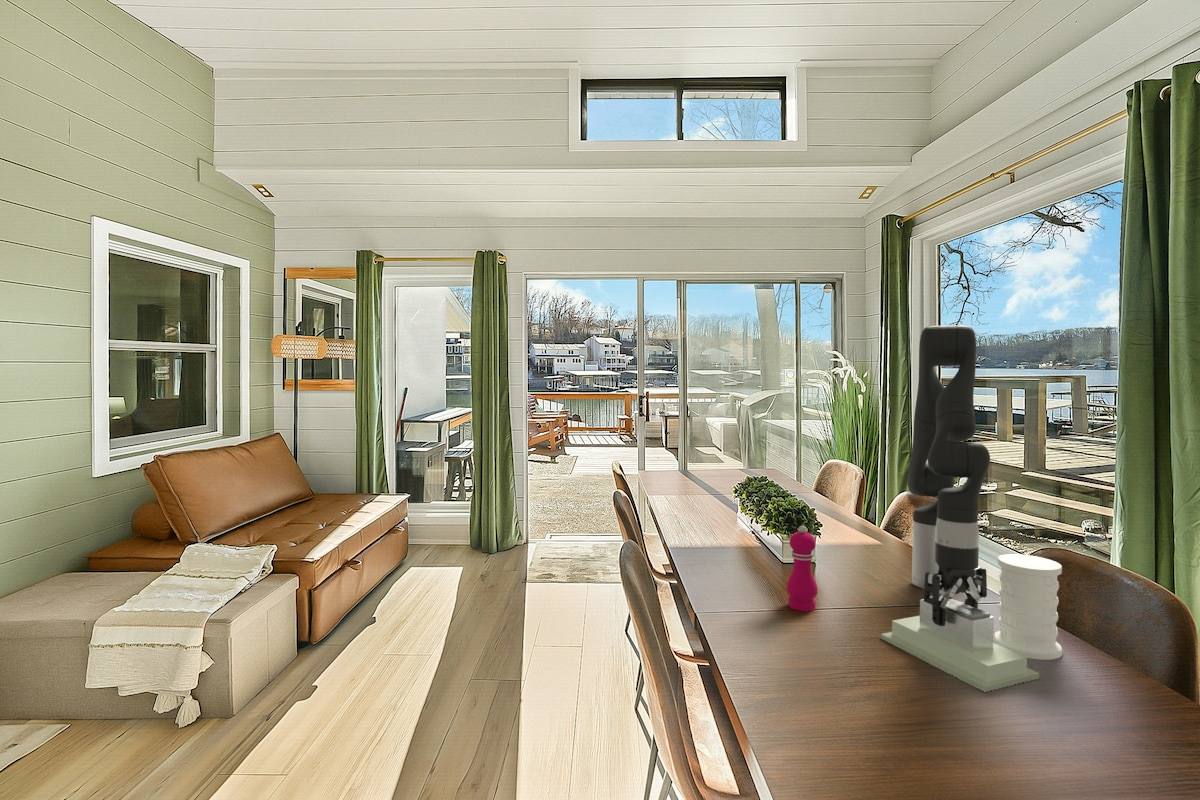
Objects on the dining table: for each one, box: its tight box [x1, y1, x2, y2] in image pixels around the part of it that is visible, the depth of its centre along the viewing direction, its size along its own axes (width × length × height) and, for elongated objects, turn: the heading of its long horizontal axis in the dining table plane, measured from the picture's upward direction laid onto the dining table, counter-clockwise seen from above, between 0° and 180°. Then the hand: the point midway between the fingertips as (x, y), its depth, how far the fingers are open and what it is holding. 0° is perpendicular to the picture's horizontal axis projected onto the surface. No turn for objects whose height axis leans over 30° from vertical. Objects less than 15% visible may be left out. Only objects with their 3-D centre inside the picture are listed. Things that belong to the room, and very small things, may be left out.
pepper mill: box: [786, 525, 818, 612], centre depth 150 cm, size 7×7×20 cm
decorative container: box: [993, 553, 1063, 661], centre depth 128 cm, size 12×12×18 cm
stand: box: [880, 615, 1040, 693], centre depth 124 cm, size 14×24×4 cm, turn 20°
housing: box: [919, 595, 995, 652], centre depth 123 cm, size 12×6×7 cm, turn 21°
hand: (955, 621), depth 123 cm, fingers open, 8 cm apart
